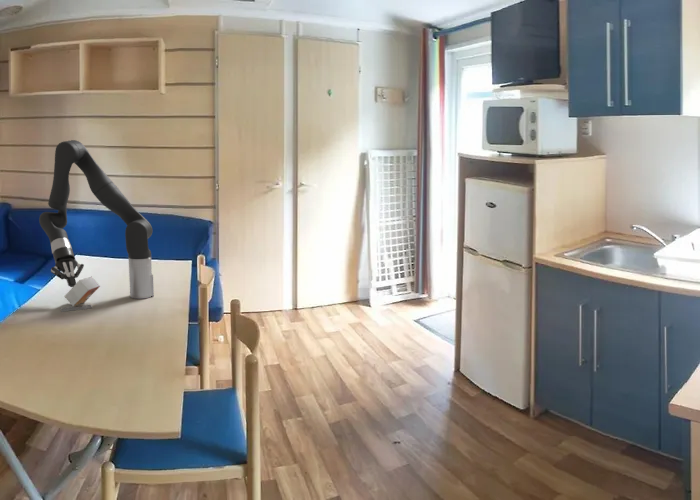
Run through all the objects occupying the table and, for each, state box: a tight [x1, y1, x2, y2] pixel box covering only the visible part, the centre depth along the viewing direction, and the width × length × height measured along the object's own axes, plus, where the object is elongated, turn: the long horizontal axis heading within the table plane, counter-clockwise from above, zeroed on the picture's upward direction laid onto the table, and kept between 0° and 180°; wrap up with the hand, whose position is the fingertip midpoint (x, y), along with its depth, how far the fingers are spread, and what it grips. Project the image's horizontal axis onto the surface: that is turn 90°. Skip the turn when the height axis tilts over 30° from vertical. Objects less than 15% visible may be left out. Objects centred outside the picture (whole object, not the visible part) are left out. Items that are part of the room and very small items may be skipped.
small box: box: [64, 276, 101, 307], centre depth 231 cm, size 8×6×10 cm
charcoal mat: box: [60, 304, 93, 313], centre depth 227 cm, size 11×5×1 cm, turn 121°
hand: (72, 285), depth 231 cm, fingers closed
